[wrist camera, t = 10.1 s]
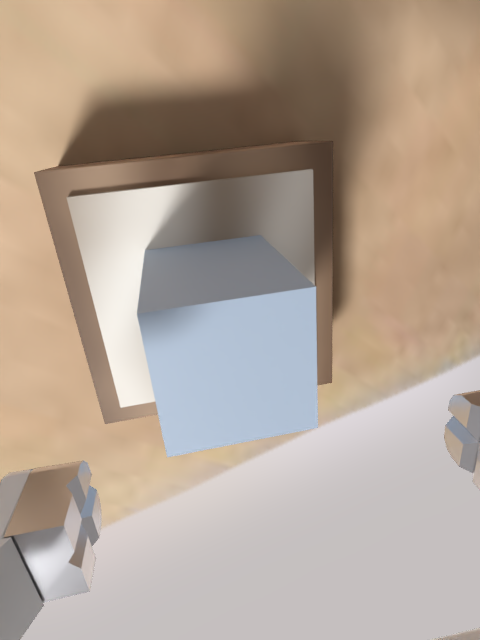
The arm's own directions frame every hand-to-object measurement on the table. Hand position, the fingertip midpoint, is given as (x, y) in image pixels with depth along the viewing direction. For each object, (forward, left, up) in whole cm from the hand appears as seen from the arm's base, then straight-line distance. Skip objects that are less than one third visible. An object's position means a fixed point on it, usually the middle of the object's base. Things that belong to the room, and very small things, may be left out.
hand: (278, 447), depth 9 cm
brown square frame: (0, 0, -15) cm, 15 cm away
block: (0, 0, -11) cm, 11 cm away
